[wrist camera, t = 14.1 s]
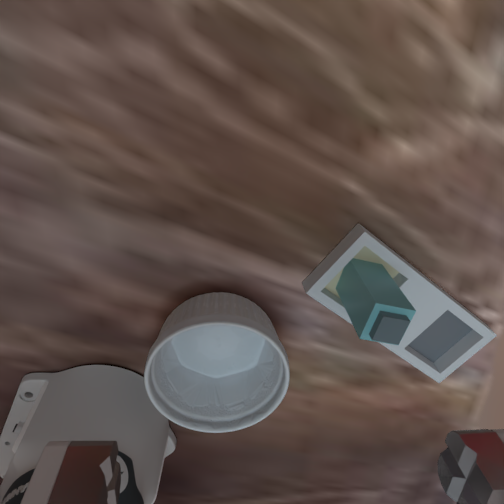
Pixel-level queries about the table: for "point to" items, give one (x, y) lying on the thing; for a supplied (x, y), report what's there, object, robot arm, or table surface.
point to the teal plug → (374, 302)
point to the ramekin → (217, 364)
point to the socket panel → (419, 295)
